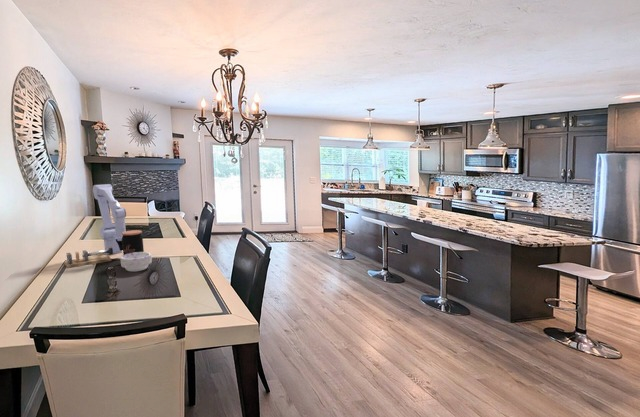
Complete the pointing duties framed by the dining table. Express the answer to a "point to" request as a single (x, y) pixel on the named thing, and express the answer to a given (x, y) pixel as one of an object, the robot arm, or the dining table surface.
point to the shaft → (100, 252)
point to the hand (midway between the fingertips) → (122, 250)
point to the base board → (91, 261)
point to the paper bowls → (136, 261)
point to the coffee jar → (132, 241)
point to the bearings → (77, 257)
